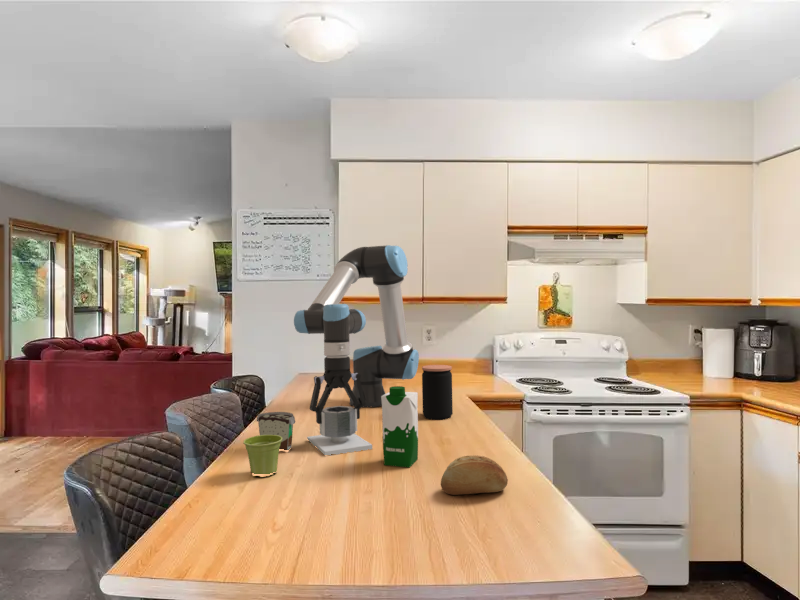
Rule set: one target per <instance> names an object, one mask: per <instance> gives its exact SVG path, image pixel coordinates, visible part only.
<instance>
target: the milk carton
mask: <svg viewBox="0 0 800 600" xmlns="http://www.w3.org/2000/svg"><path fill="white" fill-rule="evenodd" d="M418 394H419V393H418V392H416V391H406V387H405V386H403V385H401V386H400V385H399V386H398V385H397V386H396V385H395V386H390V387H389V392H385V395H383V396H381V399H382V406H381V415H382V451H383V466H388V467H389V466H390V467H401V468H411V466H412V465H414V464H415V463H416V462H417V461H418V460H419V459H418V458H419V457H418V456H419V421H418V420H419V416H418V411H419V410H418V407H419V406H418V397H419V395H418Z"/></svg>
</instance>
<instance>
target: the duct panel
mask: <svg viewBox="0 0 800 600" xmlns="http://www.w3.org/2000/svg"><path fill="white" fill-rule="evenodd" d="M306 439H308V440H309V441H310V442H311V443H312V444H313V445H314V446H316V447H317V448H318V449H319V450H320V451H321V452H322V453H323V454H324V455H330V456H332V455H331V454H336V455H341V454H340V453H343V454H348V453H347V452H350V453H355V452H354V451H356V452H360V451H361V450H363V451H369V450H373V444H372V443H371V442H369V441H367V440H365V439H364V438H362V437H361V436H359V435H358V434H356V433H354V434H352V435H351V436H345V437H338V438H337V437H325V436H322V435H321V434H318V435H310V436H309V435H308V436H306ZM311 443H310V444H311ZM312 444H311V445H312ZM313 445H312V446H313ZM314 446H313V447H314ZM318 449H317V450H318ZM368 449H369V450H368ZM319 450H318V451H319ZM320 451H319V452H320ZM321 452H320V453H321ZM322 453H321V454H322ZM323 454H322V455H323ZM324 455H323V456H324Z"/></svg>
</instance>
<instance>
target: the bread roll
mask: <svg viewBox="0 0 800 600" xmlns="http://www.w3.org/2000/svg"><path fill="white" fill-rule="evenodd" d="M508 481H509V479H508V476H507V474H506V472H505V470H504V469H503V467H502V466H501V464H499V463H498V462H496V461H495V460H493V459H491V458H489V457H487V456H483V455H474V454H473V455H464V456H460V457H458V458H455V459H454V460H453V461H451V462H450V463H449V464H448V466H447V467H446V469H445V471H444V473H443V474H442V475H441V480H440V487H441V490H442V491H443V492H444V493H446V494H448V495H450V496H452V495H453V496H460V495H472V494H473V495H474V494H483V493H487V494H488V493H497V492H501V491H503V490H504V489H505V488H507V486H508Z"/></svg>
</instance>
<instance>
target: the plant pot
mask: <svg viewBox="0 0 800 600" xmlns="http://www.w3.org/2000/svg"><path fill="white" fill-rule="evenodd" d="M281 441H282V437H281V436H278V435H260V434H259V435H254V436H250V437H247V438H245V439H244V440H243V444H244V445H245V450H246V451H247V457H248V462H249V467H250V473H251V472H252V473H254V474H270V473H273V472H276V471H278V462H279V455H280V452H279V447H280V444H281Z"/></svg>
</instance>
